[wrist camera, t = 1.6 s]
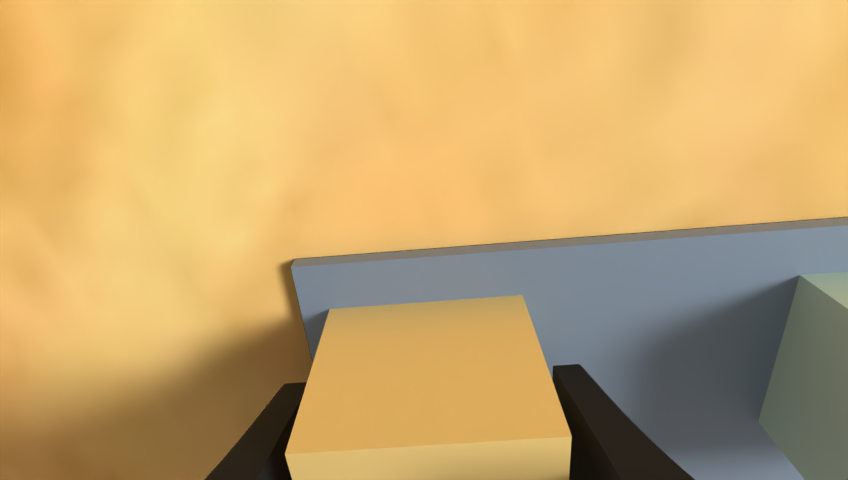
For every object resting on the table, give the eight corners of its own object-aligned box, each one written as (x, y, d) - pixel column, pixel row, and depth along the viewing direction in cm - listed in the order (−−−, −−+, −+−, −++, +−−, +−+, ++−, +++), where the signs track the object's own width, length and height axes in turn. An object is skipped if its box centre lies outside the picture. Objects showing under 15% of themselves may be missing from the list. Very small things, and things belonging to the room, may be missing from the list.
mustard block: (357, 446, 14) (331, 615, 10) (329, 308, 12) (285, 453, 8) (521, 436, 13) (561, 604, 10) (522, 295, 11) (571, 436, 8)
